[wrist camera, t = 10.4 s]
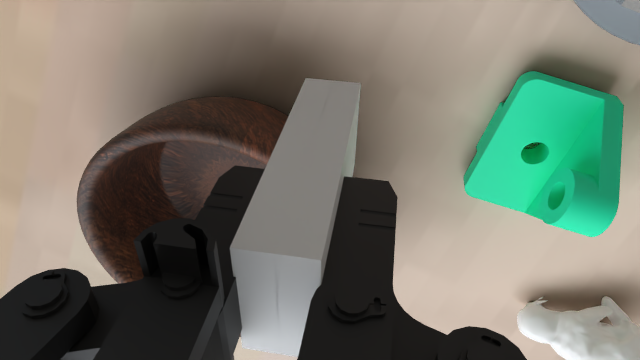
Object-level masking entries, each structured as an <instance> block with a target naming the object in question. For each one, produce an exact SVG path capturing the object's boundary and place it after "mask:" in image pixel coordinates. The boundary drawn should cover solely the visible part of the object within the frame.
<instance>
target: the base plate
mask: <svg viewBox="0 0 640 360" xmlns="http://www.w3.org/2000/svg"><path fill="white" fill-rule="evenodd" d="M574 2H575V3H576V4H577V5H578V7H579V8H580V9H581V10H582V11H583V13H584V14H586V15H587V16H588V17H589V18H590V19H591V20H592V21H593V22H595V23H596V24H597V25H598V26H600V27H601V28H603V29H604V30H606V31H607V32H609V33H611V34H612V35H614V36H616V37H619V38H621V39H623V40H626V41H628V42H630V43H633V44H637V45H640V13H638V12H635V11H633V10H631V9H628V8H626V7H623V6H621V5H620V4H619V3H617V2H616V1H615V0H574Z"/></svg>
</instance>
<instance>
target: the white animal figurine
mask: <svg viewBox="0 0 640 360" xmlns="http://www.w3.org/2000/svg"><path fill="white" fill-rule="evenodd" d="M544 297H545V296H544ZM542 298H543V297H541V298H539V299H538V300H536V301H534V302H532V303H530V302H528V303H527V305H526V306H525V307H524V308H523V309H521V310H520V311H519V313H518V315H517V323H518V327H519V330H520V331H521V333H522V334H524V335H525V336H526V337H528V338H530V339H532V340H535V341H537V342H540V343H548V344H550V345H551V347H552V348H554V350H555V351H556V352H557V354H559V355H560V356H562V357H563V358H565V359H567V360H640V327H639V325H637V324H636V323H633V322H632V321H631V319H630V318H629V317H628V316H627V314H626V313H625V312H624V311H622V310H621V308H620V307H619V306H618V305H617V304H616V303H615V302H614V301H613V300H612V299H611V298H610V297H607V296H605V297H603V298H602V301H601V306H596V307H591V308H586V309H583V310H580V311H564V312H559V311H552V310H549V309H546V308H544V307H543V306H542V305H540V304H541V303H543V302H545V301H548V300H541V301H539V300H540V299H542ZM606 316H607V317H608V318H609V320H610V321H611V323H612V324H613V325H611V324H606V323H599V321H601V320H602V319H603V318H605V317H606Z"/></svg>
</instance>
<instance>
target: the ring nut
mask: <svg viewBox="0 0 640 360" xmlns="http://www.w3.org/2000/svg"><path fill="white" fill-rule="evenodd" d="M615 1H616V2H617V3H619V4H620V5H621V6H623V7H626V8H628V9H631V10H633V11H635V12H638V13H640V0H615Z"/></svg>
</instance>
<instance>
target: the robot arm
mask: <svg viewBox="0 0 640 360" xmlns="http://www.w3.org/2000/svg"><path fill="white" fill-rule="evenodd" d="M360 89H361V83H357V82H345V81H334V80H323V79H312V78H305V81H304V83H303V85H302V87H301V90H300V92H299V94H298V96H297V99H296V101H295V103H294V105H293V108H292V110H291V112H290V114H289V116H288V119H287V121H286V123H285V125H284V128H283V130H282V132H281V134H280V137H279V139H278V141H277V143H276V146H275V148H274V150H273V152H272V154H271V157H270V159H269V161H268V163H267V166H266V168H265V169H262V168H253V167H244V166H236V165H235V166H234V167H232V168H231V169H230V170H228V171H227V172H226V173H224V174H223V175H222V176H220V177H219V178H218V180H217V182H216V183H215V185H214V187H213V189H212V191H211V192H210V196H208V198H207V199H206V201H205V203H204V205H203V208H201V210H200V212H199V213H198V215H197V217H196V219H195V220H193V219H189V218H176V219H170V220H166V221H162V222H158V223H156V224H154V225H152V226H150V227H149V228H147V229H145V230H143V231H142V232H141V233H140V234H139V235H138V236H137V237H136V238H135V239H134V240H133V241H134V245H135V248H136V252H137V255H138V258H139V262H140V265H141V269H142V272H143V275H144V277H143V278H142V279H140V280H137V281H132V282H127V283H120V284H111V285H103V286H95V287H91V286H90V283H89V281H88V278H87V277H86V276H85V275H83V274H82V273H80V272H79V271H77V270H71V269H66V268H62V269H54V270H47V271H44V272H42V273H39V274H36V275H33V276H31V277H29V278H28V279H26V280H25V281H23V282H22V283H20V284H18V285H17V286H16V287H14V288H13V289H12V290H11V291H9V292H8V293H7V294H6V295H5V296H3V297H2V298H1V299H0V360H234V356H233V353H234V350H235V348H236V345H237V342H238V339H239V336H240V333H241V340H242V347H243V348H245V349H251V350H257V351H264V352H270V353H276V354H282V355H289V356H295V357H298V359H297V360H527V359H526V358H525V356H524V355H523V354H522V352H521V351H520V349H519V348H518V347H517V346H516V345H515V344H513V343H512V342H511V341H510V340H508V339H507V338H506V337H505V336H503V335H501V334H498V333H496V332H494V331H491V330H489V329H487V328H479V327H470V326H469V327H464V328H460V329H456V330H453V331H452V332H451V333H450V334H448V335H446V334H444V333H441V332H439V331H437V330H435V329H432V328H430V327H428V326H426V325H424V324H422V323H420V322H419V321H417V320H415V319H413V318H412V317H411V316H410V315H409V314H408V313H406V312H405V311H404V310H403V308H402V307H401V306H400V304H399V303H398V302H397V299H396V297H395V295H394V292H393V266H394V248H395V228H396V211H397V196H396V194H395V192H394V190H393V188H392V187H391V185H390V183H389V181H381V180H372V179H363V178H354V177H353V172H354V166H355V153H356V140H357V127H358V114H359V102H360Z"/></svg>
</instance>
